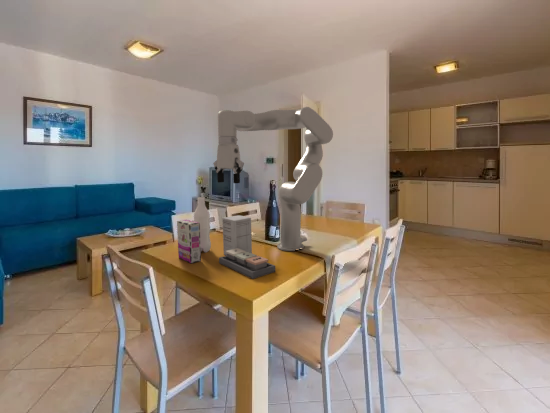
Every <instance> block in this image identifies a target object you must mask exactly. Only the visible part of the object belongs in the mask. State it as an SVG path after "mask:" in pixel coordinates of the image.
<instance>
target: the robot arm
mask: <svg viewBox="0 0 550 413" xmlns="http://www.w3.org/2000/svg"><path fill="white" fill-rule="evenodd" d="M305 128H306V130H305V132H304V136H303V138H304V141H305V142H304V143H305V148H306V149H305V152H304V154H303V156H302V157H301V159H300V160H299V162H298V163H297V165H296V166H295V168H294V169H293V173H292V175H293V180H295V181H286V182H283V183H281V185H280V187H279V189H278V199H279V205H280V243H278V244H277V247H276V248H277V250H280V251H285V252H296V251H295V250H296V249H300V248H303V247H305V246H304V244H303V242H306V241H308V239H307V237H306V236H305V237H301V233H302V232H301V231H302V230H301V224H302V223H301V221H302V220H301V216H302V215H301V214H302V213H301V211H302V210H301V205H304V204H305V203H307V202H308V201H309V200H310V198H311V197H312V195H313V193H315V191H316V189H317V188H318V186H319V184H320V182H321V181H322V179H323V169H322V167H321V165H320V163H321V161H322V159H323V156H324V153H323V146H322V145H327V144H328V143H330V142H331V141H332V139H333V138H334V131H333V128H332V127H331V126H330V124H329V123H328V122H327V121H326V120H325V119H323V117H322V116H320V114H319V113H318V112H317V111H315V110H314V109H313V108H312V107H309V106H304V107H302V108H298V109H272V110H268V111H267V110H266V111H264V112H257V113H254V112H252V111H251V110H236V111H235V110H230V109H228V110H227V109H226V110H225V109H224V110H223V109H222V110H220V111H219V112H217V134H218V135H217V136H218V137H217V138H218V144H217V151H216V153H217V154H216V160H215V161H214V162H213V167H214V170H215V173H216V175H217V178H216V179H217V180H216V181H217V183H224V182H225V173H224V171H225V170H226V169H227V170H232V171H233V174H232V175H233V176H232V177H233V178H232V182H233V184H240V183H241V173H242V171H243V168H244V166H245V163H244V162H243V161H242V160H241V154H240V147H239V144H238V143H237V142H238V138H237V137H238V136H237V134H238V133H237V131H238V132H256V131H278V130H300V129H305ZM303 249H304V248H303Z"/></svg>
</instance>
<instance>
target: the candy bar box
mask: <svg viewBox="0 0 550 413" xmlns="http://www.w3.org/2000/svg"><path fill="white" fill-rule="evenodd" d="M176 227H177V228H176V229H177V233H176V234H177V250H178V251H177V252H178V259H180V260H183V261H185V262H188V263H190V264H195V263H199V262H201V261H202V255H201V253H202V252H201V248H200V223H198V222H194V220H189V219H181V220H177V221H176Z"/></svg>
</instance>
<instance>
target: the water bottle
mask: <svg viewBox="0 0 550 413" xmlns="http://www.w3.org/2000/svg"><path fill="white" fill-rule="evenodd" d="M205 201H206V200H205V197H204V196H201V197H199V196H198V197H197V202H196V203H197V206H196V208H195V211H194V212H193V221H194V222H198V223H200V248H201V253H202V252H203V253H209V251H210V250H211V246H212V242H211V237H210V233H211V221H210V220H211V218H210V217H211V214H210V212H209V209H208V208H207V206H206V202H205Z"/></svg>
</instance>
